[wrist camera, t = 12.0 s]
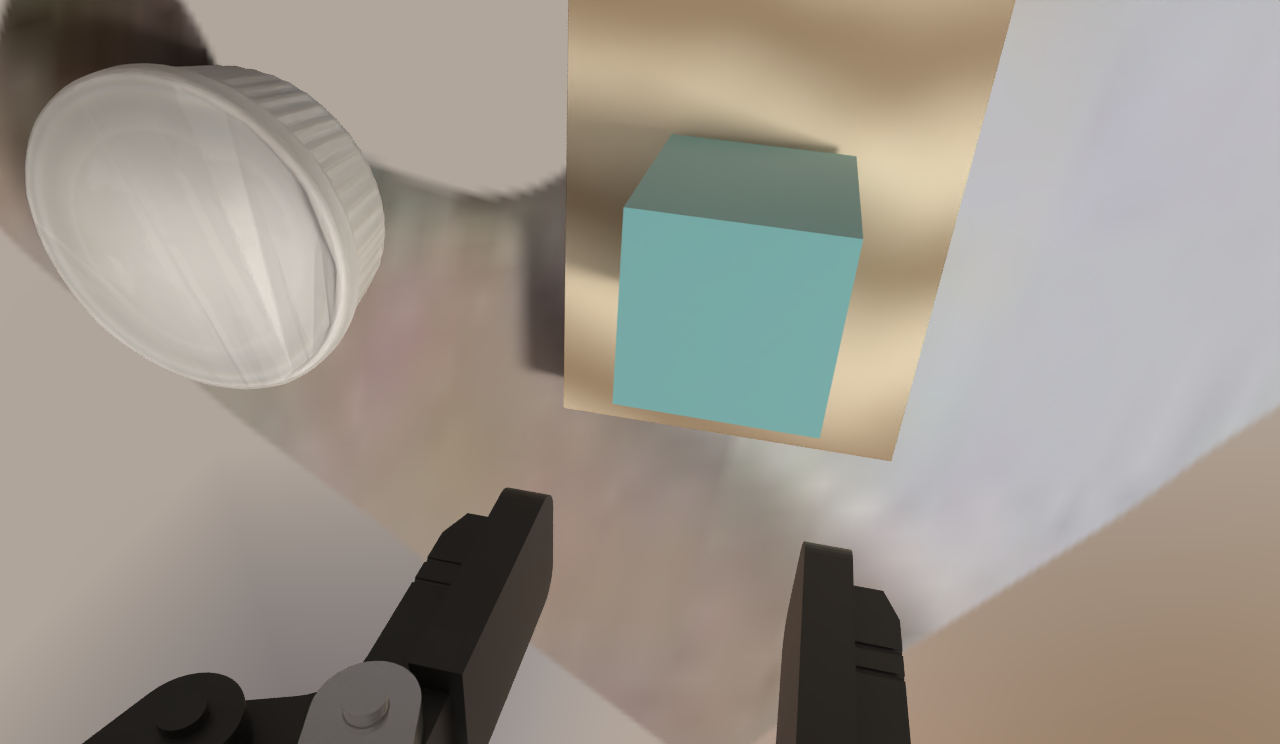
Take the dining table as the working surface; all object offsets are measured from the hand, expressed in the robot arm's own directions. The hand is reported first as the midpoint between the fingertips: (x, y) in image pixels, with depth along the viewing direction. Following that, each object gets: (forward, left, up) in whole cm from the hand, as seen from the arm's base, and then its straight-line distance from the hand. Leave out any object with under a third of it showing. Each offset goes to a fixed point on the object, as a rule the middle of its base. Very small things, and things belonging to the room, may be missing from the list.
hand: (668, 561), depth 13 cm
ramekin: (+2, -18, -18) cm, 25 cm away
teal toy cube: (0, 0, -15) cm, 15 cm away
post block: (0, 0, -17) cm, 17 cm away
